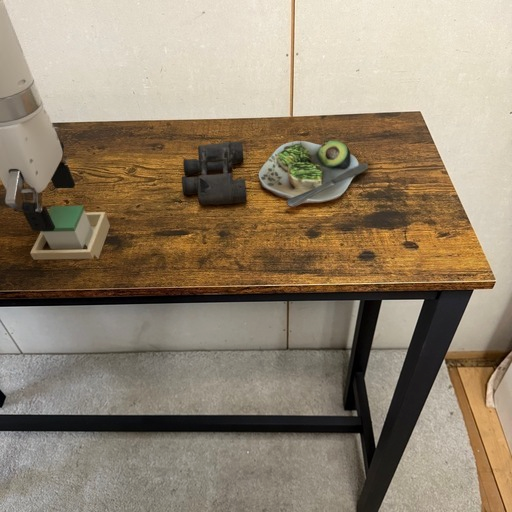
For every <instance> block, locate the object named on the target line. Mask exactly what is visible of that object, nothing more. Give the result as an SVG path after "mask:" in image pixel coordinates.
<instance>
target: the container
mask: <svg viewBox="0 0 512 512" xmlns="http://www.w3.org/2000/svg"><path fill="white" fill-rule="evenodd" d="M85 212H86V211H85V207H84V205H51V206H50V208H49V210H48V213H49V215H50V217H51V219H52V221H53V223H54V225H55V229H54V231H42V232H43V234H44V236H45V238H46V240H47V241H46V243H47V244H48V247H49V248H50V250H82V249H84V247H85V246H86V247H87V248H88V244H89V242H90V239H91V236H92V234H93V230H92V228H91V225H90V223H89V220H88V218H87V216H86V213H85Z"/></svg>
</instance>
